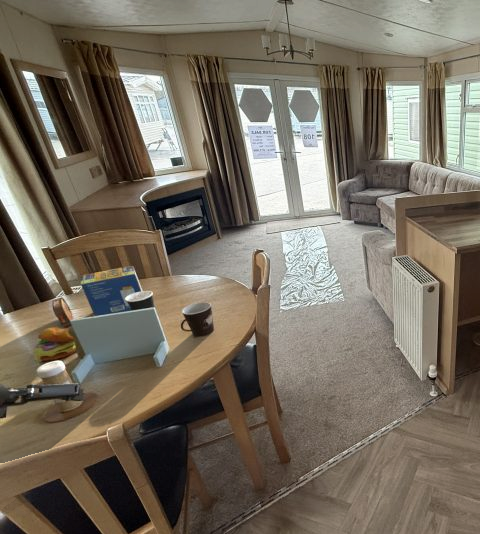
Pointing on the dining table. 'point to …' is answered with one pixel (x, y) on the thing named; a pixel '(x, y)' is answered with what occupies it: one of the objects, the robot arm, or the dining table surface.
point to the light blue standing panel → (119, 338)
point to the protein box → (110, 290)
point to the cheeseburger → (54, 344)
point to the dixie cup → (140, 300)
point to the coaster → (57, 416)
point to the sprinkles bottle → (57, 382)
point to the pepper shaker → (77, 343)
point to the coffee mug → (198, 318)
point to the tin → (62, 311)
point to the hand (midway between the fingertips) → (44, 403)
